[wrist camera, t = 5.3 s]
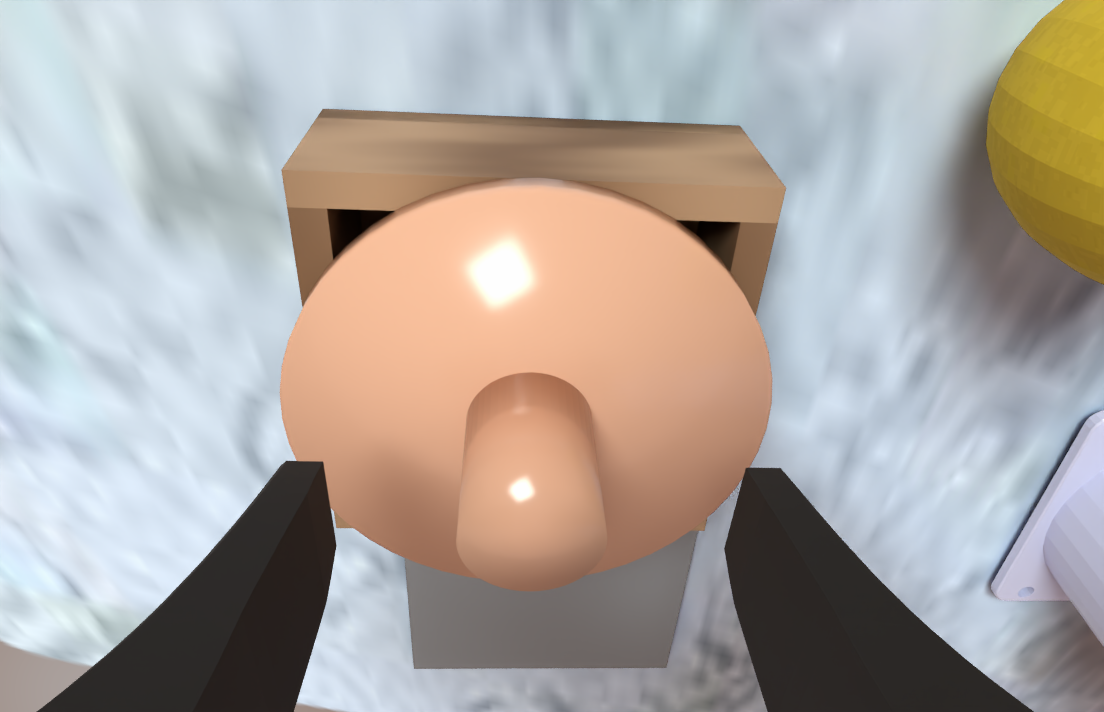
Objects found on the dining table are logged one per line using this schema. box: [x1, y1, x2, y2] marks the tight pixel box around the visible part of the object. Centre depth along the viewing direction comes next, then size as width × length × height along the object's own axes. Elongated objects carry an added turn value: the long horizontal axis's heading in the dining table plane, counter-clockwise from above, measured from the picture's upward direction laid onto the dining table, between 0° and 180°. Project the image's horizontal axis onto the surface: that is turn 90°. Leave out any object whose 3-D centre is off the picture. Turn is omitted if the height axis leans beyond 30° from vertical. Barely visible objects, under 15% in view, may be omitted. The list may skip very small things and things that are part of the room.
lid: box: [280, 178, 772, 591], centre depth 15 cm, size 10×10×4 cm
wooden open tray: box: [282, 109, 786, 531], centre depth 18 cm, size 9×9×4 cm
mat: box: [405, 531, 698, 669], centre depth 25 cm, size 9×9×1 cm
